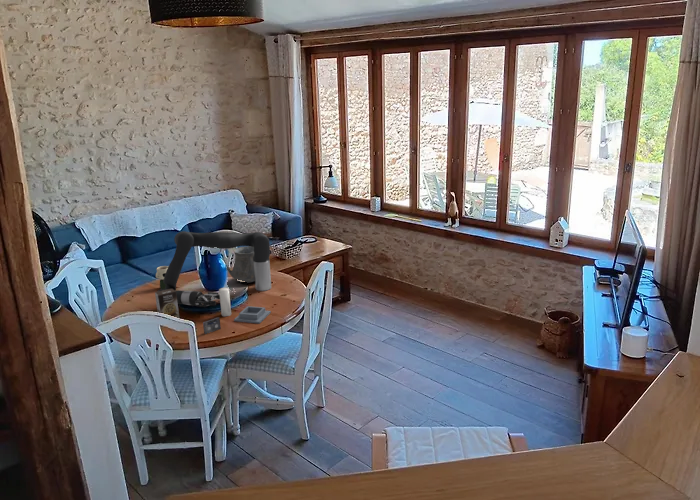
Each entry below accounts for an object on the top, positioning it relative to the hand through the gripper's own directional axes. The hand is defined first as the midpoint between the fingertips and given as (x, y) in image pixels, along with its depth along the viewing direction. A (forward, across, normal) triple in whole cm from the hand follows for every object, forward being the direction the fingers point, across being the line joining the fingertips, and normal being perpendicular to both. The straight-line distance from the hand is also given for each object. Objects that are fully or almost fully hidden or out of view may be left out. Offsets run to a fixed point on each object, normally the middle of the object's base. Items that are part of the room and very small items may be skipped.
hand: (219, 300), depth 284 cm
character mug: (-52, +28, +8) cm, 59 cm away
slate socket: (+18, 0, +8) cm, 20 cm away
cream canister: (+3, 0, +8) cm, 8 cm away
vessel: (-9, +52, +8) cm, 53 cm away
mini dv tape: (+6, -20, +8) cm, 22 cm away
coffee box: (-22, -14, +8) cm, 27 cm away
